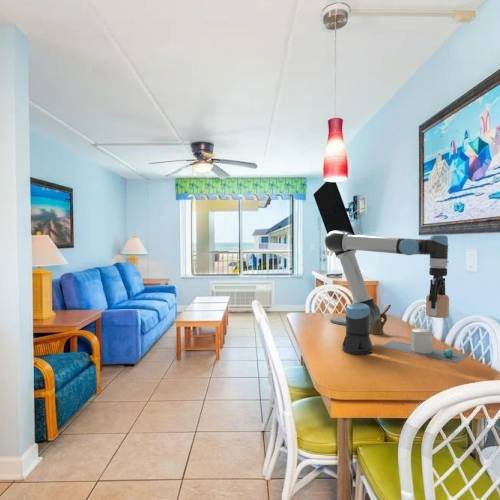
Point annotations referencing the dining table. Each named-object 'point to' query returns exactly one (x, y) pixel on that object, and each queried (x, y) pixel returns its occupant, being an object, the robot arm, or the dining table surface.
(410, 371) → the dining table surface
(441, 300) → the terracotta cup
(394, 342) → the board
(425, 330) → the cream cup
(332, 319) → the frisbee
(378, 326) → the wooden mug
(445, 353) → the marble
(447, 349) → the marble
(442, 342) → the dining table surface
